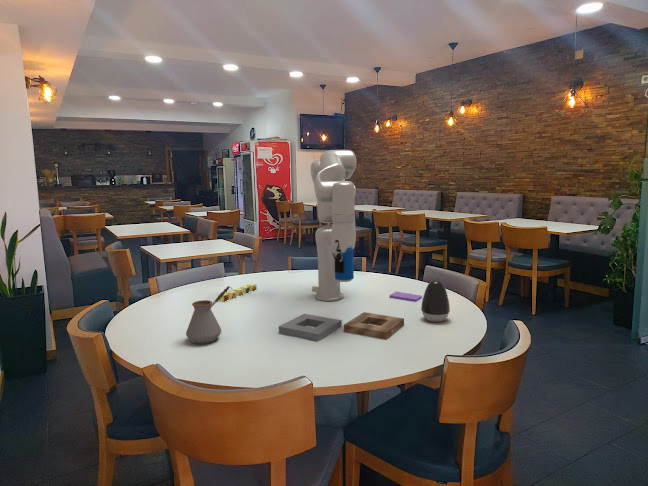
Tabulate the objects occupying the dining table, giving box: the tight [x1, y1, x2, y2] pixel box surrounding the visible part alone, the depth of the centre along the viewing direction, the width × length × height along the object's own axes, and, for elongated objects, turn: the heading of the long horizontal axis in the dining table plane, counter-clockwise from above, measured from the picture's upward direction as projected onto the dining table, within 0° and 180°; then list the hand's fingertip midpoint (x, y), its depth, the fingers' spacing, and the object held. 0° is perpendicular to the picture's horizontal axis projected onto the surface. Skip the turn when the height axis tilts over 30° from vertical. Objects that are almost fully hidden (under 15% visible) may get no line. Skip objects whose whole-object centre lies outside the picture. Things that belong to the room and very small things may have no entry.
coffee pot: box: [185, 285, 233, 345], centre depth 155 cm, size 21×12×15 cm, turn 155°
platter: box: [217, 283, 258, 303], centre depth 206 cm, size 32×32×3 cm
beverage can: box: [335, 247, 355, 283], centre depth 156 cm, size 6×6×12 cm
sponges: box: [389, 291, 423, 303], centre depth 197 cm, size 7×13×2 cm, turn 55°
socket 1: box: [278, 313, 343, 342], centre depth 159 cm, size 16×16×2 cm
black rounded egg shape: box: [420, 278, 451, 323], centre depth 167 cm, size 10×10×15 cm
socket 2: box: [343, 311, 405, 340], centre depth 160 cm, size 16×16×2 cm
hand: (344, 269), depth 156 cm, fingers closed on beverage can, 6 cm apart
